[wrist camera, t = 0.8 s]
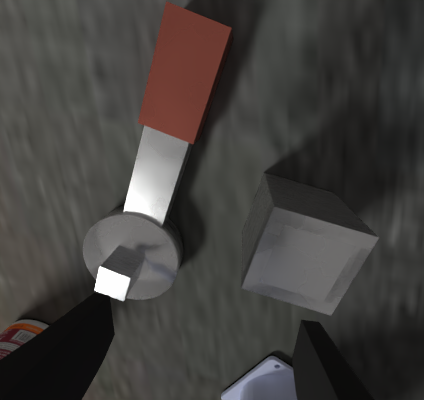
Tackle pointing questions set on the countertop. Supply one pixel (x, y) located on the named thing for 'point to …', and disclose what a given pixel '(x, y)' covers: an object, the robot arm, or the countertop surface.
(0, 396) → the robot arm
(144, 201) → the ratchet
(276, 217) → the grey block
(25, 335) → the pill bottle
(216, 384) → the countertop surface
